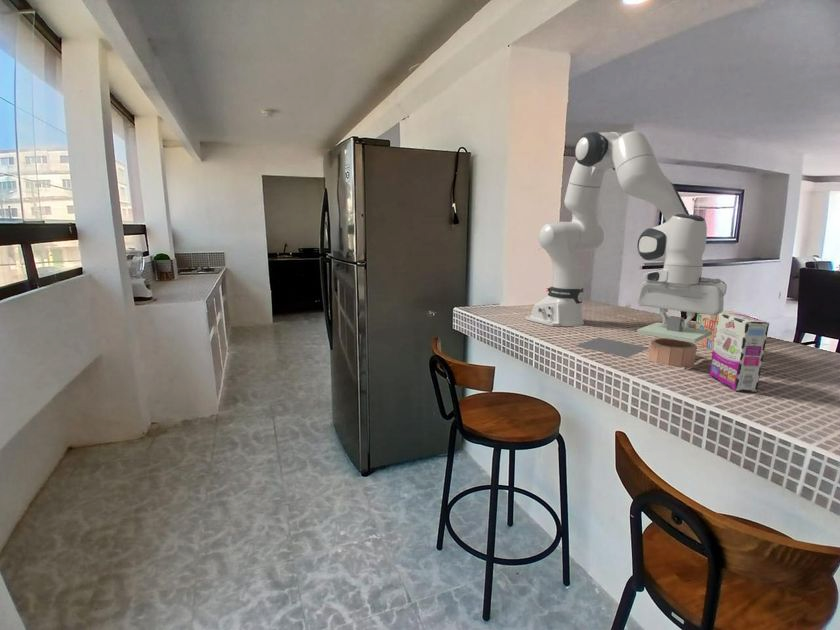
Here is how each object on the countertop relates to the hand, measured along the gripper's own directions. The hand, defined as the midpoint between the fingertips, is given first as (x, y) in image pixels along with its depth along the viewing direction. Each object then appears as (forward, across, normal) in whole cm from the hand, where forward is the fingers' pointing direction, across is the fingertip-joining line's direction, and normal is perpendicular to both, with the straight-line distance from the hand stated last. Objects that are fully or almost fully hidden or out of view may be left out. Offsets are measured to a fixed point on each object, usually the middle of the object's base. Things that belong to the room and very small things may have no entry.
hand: (675, 326), depth 116 cm
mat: (+10, +17, -1) cm, 20 cm away
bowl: (+10, 0, 0) cm, 10 cm away
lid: (+2, 0, 0) cm, 2 cm away
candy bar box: (+11, -16, +7) cm, 20 cm away
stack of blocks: (+11, -5, -26) cm, 29 cm away
